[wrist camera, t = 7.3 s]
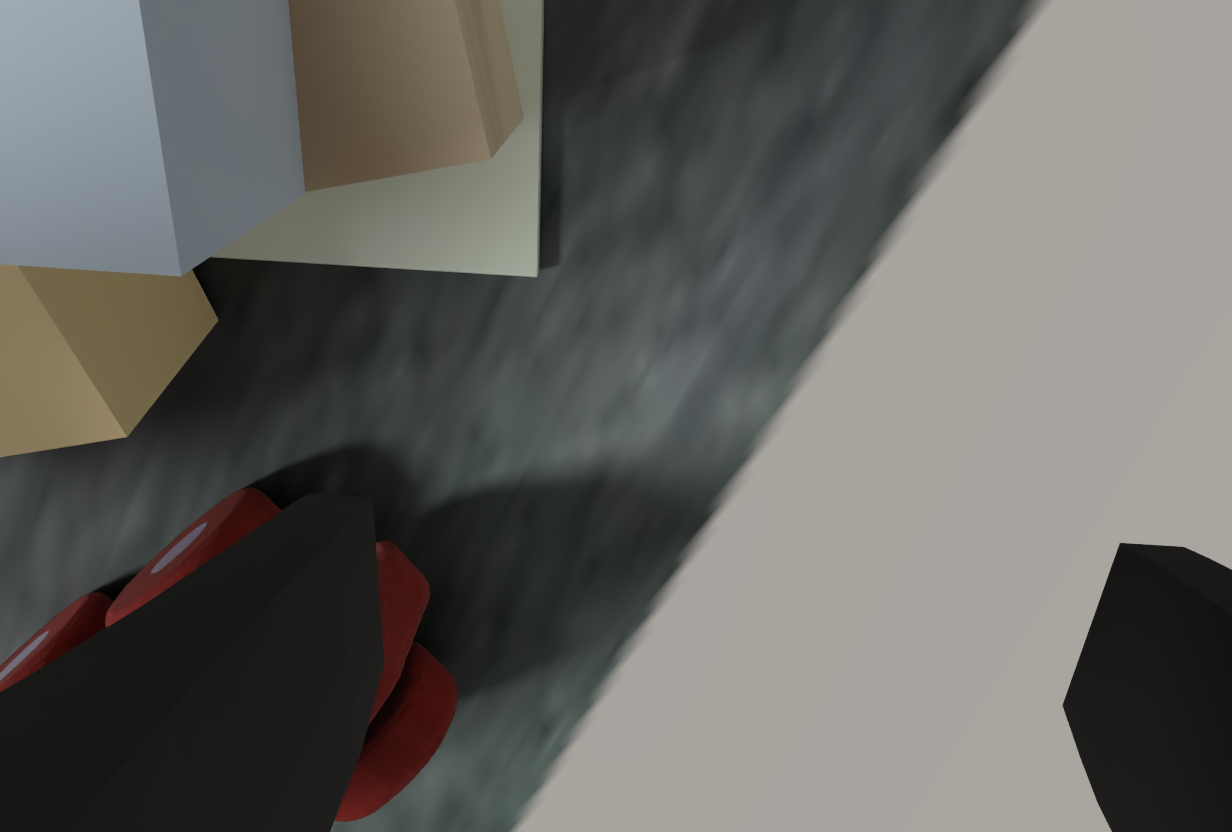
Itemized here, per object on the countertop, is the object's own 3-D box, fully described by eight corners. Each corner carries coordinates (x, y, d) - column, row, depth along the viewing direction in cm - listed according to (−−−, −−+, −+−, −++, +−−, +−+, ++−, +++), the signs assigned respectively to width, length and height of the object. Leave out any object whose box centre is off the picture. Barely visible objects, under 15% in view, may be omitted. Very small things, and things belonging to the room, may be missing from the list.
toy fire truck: (533, 618, 22) (452, 1086, 13) (187, 820, 26) (-72, 1305, 16) (335, 407, 20) (62, 795, 11) (-17, 661, 23) (-454, 1121, 14)
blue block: (31, 174, 13) (-192, 251, 10) (-38, -145, 12) (-342, -194, 8) (305, 193, 13) (182, 275, 10) (277, -124, 12) (113, -164, 8)
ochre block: (45, 350, 19) (-77, 469, 16) (-73, 171, 17) (-242, 267, 14) (218, 319, 19) (127, 437, 16) (119, 129, 17) (-12, 220, 13)
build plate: (40, 240, 18) (28, 246, 18) (-69, -244, 15) (-87, -250, 15) (538, 270, 18) (536, 277, 18) (547, -208, 15) (545, -212, 15)
